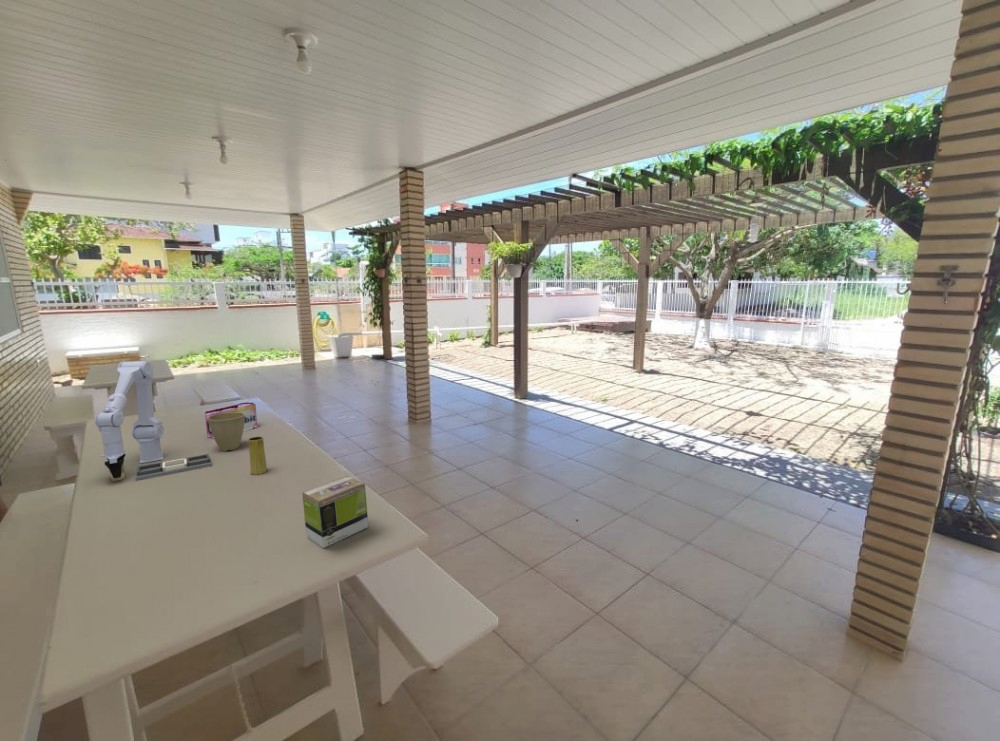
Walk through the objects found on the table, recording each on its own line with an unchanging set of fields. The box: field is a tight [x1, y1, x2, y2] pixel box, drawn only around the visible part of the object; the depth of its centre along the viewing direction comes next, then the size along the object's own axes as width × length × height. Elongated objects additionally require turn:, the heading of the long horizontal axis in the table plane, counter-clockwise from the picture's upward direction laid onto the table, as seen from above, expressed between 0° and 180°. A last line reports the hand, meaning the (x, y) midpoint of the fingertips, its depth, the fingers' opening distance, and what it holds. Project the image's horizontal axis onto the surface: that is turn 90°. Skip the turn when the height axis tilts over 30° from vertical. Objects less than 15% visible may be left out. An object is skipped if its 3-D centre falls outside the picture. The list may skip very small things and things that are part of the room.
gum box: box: [204, 402, 258, 437], centre depth 228 cm, size 24×8×14 cm, turn 154°
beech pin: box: [108, 462, 127, 482], centre depth 170 cm, size 4×4×6 cm
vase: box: [247, 436, 268, 476], centre depth 176 cm, size 6×6×14 cm
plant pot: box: [207, 412, 245, 452], centre depth 204 cm, size 15×15×16 cm
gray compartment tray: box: [135, 453, 213, 481], centre depth 180 cm, size 11×25×3 cm, turn 127°
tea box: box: [302, 475, 369, 549], centre depth 130 cm, size 15×10×15 cm, turn 141°
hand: (117, 475), depth 170 cm, fingers open, 5 cm apart
